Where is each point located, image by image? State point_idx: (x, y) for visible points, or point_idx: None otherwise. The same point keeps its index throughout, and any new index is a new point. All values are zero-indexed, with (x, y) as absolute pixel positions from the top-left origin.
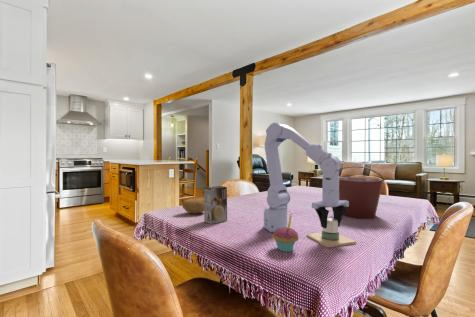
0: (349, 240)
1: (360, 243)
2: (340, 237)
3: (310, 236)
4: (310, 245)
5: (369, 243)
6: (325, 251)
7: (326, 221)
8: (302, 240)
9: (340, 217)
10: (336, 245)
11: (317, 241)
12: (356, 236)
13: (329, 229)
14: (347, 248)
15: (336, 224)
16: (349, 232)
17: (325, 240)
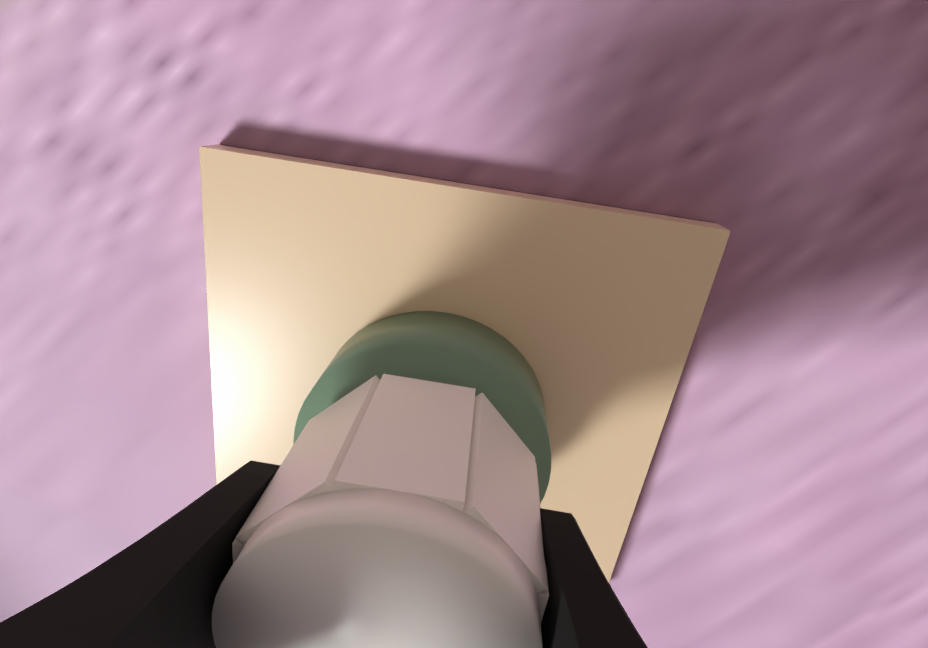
0: (259, 224)
1: (139, 128)
2: (295, 363)
3: (617, 549)
4: (826, 377)
5: (7, 66)
6: (863, 125)
7: (584, 616)
8: (755, 526)
9: (116, 603)
10: (553, 201)
11: (657, 416)
12: (19, 341)
13: (509, 457)
14: (471, 64)
15: (361, 467)
16: (19, 468)
17: (578, 372)
